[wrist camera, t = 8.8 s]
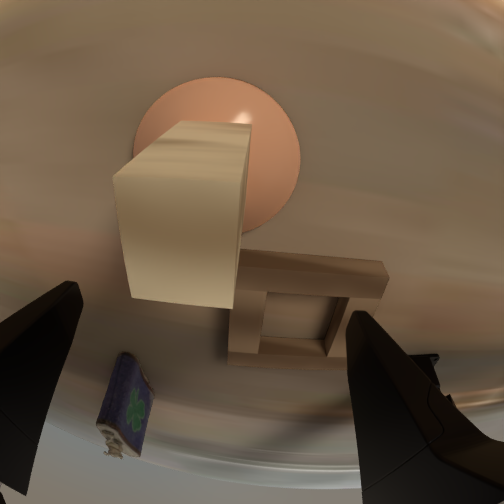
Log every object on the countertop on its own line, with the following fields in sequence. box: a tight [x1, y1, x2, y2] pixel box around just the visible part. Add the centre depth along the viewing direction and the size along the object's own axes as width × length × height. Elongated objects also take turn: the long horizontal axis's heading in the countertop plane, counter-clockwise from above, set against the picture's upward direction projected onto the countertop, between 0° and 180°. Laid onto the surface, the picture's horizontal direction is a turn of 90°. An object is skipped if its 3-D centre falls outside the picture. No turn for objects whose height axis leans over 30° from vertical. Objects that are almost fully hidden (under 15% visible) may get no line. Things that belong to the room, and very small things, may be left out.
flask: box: [96, 351, 154, 459], centre depth 28 cm, size 9×3×11 cm, turn 1°
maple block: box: [113, 121, 252, 309], centre depth 14 cm, size 5×4×9 cm
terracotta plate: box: [133, 77, 300, 233], centre depth 18 cm, size 10×10×1 cm
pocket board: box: [227, 249, 389, 370], centre depth 25 cm, size 11×11×2 cm
